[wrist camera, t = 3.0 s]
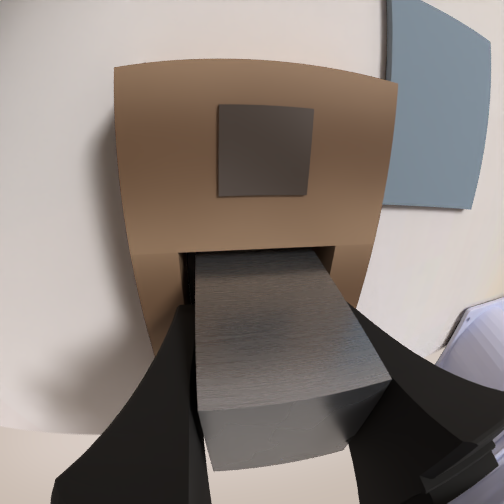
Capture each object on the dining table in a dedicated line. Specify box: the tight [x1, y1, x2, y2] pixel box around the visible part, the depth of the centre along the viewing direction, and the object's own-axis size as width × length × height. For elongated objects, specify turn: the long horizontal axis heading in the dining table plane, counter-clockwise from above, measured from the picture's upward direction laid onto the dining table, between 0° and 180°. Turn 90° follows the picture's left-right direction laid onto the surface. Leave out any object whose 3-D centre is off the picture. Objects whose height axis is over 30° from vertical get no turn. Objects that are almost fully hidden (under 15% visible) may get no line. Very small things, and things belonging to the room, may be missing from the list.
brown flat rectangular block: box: [114, 59, 398, 356], centre depth 12 cm, size 16×8×3 cm, turn 178°
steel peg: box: [195, 247, 392, 471], centre depth 9 cm, size 4×4×8 cm
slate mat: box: [382, 0, 491, 209], centre depth 10 cm, size 10×7×1 cm
